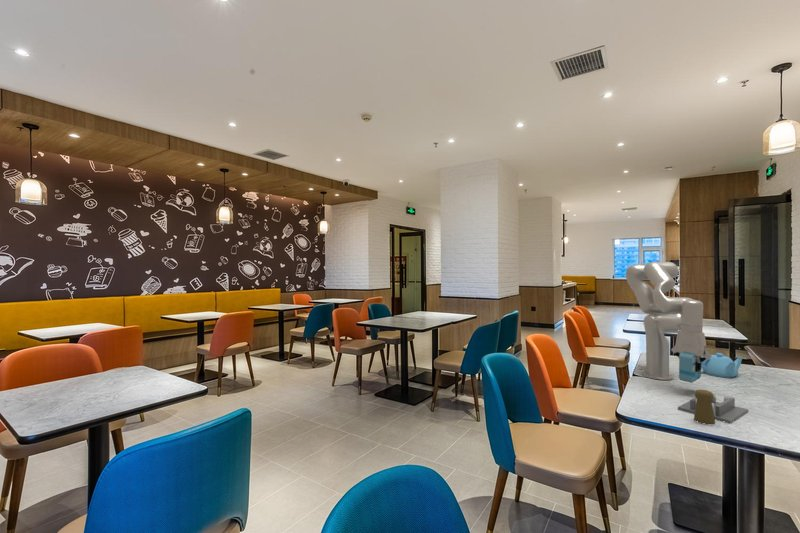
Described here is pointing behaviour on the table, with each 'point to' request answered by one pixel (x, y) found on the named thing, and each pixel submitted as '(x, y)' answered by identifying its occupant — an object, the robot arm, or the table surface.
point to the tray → (718, 408)
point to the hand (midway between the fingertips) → (690, 369)
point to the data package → (688, 368)
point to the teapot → (721, 366)
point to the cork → (704, 407)
